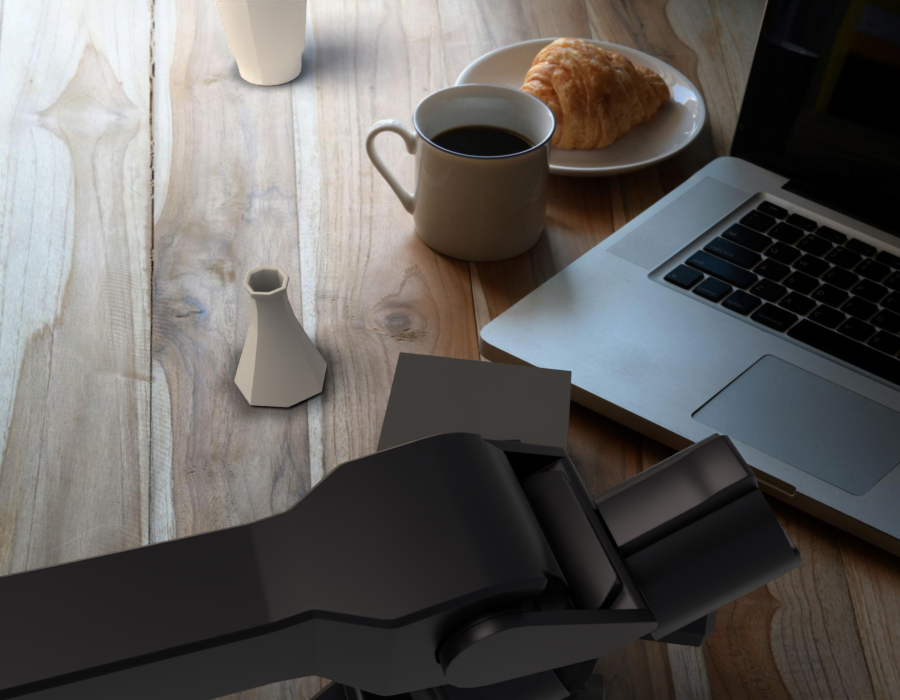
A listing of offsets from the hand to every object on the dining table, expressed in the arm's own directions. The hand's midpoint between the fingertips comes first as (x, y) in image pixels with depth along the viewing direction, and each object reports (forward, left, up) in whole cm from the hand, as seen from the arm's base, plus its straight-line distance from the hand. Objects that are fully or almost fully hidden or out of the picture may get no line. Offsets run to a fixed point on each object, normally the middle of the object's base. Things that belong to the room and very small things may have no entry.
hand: (523, 521), depth 54 cm
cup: (+61, +33, -8) cm, 70 cm away
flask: (+16, +20, -8) cm, 27 cm away
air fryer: (+6, +4, -8) cm, 11 cm away
